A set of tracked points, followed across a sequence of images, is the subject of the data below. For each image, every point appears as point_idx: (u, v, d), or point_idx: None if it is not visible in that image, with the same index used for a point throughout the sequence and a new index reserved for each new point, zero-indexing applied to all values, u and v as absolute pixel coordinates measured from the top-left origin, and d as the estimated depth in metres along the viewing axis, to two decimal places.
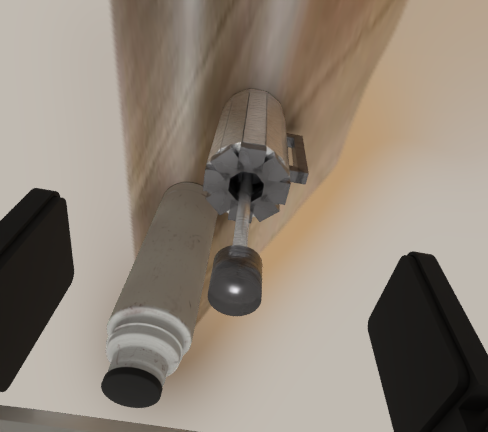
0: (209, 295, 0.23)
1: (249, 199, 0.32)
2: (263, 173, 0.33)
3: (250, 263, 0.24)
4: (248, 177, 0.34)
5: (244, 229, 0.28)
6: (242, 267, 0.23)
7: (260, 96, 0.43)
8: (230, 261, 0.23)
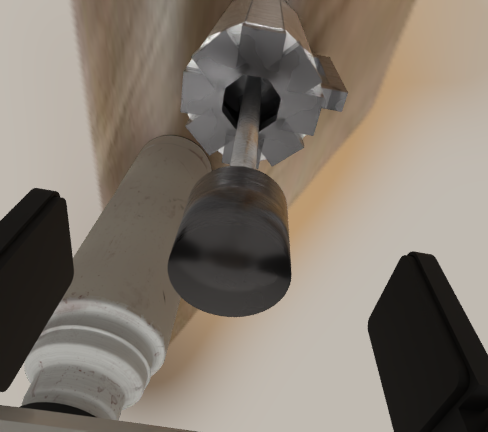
0: (171, 270, 0.10)
1: (257, 116, 0.19)
2: (280, 78, 0.20)
3: (265, 199, 0.11)
4: (254, 90, 0.21)
5: (249, 153, 0.15)
6: (247, 205, 0.10)
7: None
8: (220, 194, 0.10)
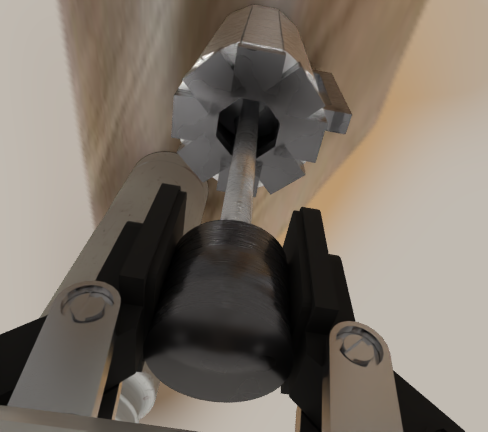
0: (148, 354, 0.08)
1: (254, 145, 0.17)
2: (279, 102, 0.18)
3: (261, 265, 0.09)
4: (251, 114, 0.20)
5: (245, 193, 0.13)
6: (240, 276, 0.08)
7: (269, 10, 0.28)
8: (207, 260, 0.09)
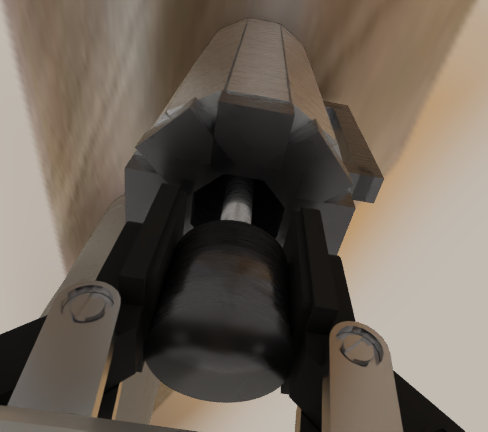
0: (148, 354, 0.08)
1: None
2: (283, 179, 0.12)
3: (261, 265, 0.09)
4: None
5: (245, 193, 0.13)
6: (240, 276, 0.08)
7: (268, 27, 0.22)
8: (207, 260, 0.09)
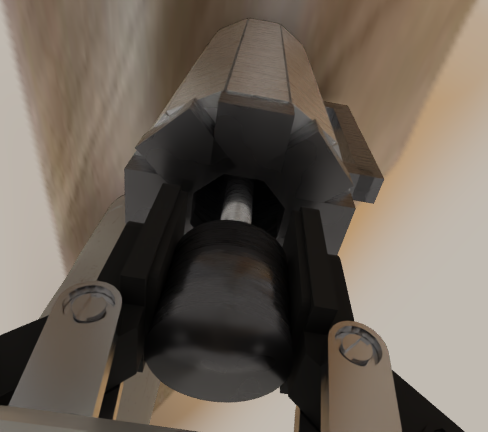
0: (148, 354, 0.08)
1: None
2: (283, 180, 0.12)
3: (261, 265, 0.09)
4: None
5: (245, 193, 0.13)
6: (240, 276, 0.08)
7: (268, 27, 0.22)
8: (207, 260, 0.09)
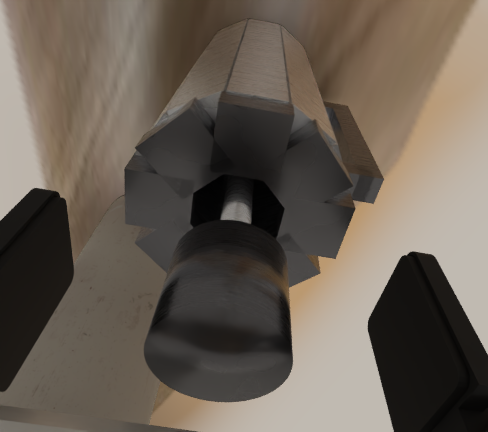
0: (148, 353, 0.08)
1: None
2: (283, 180, 0.12)
3: (261, 265, 0.09)
4: None
5: (245, 193, 0.13)
6: (240, 276, 0.08)
7: (268, 27, 0.22)
8: (207, 260, 0.09)
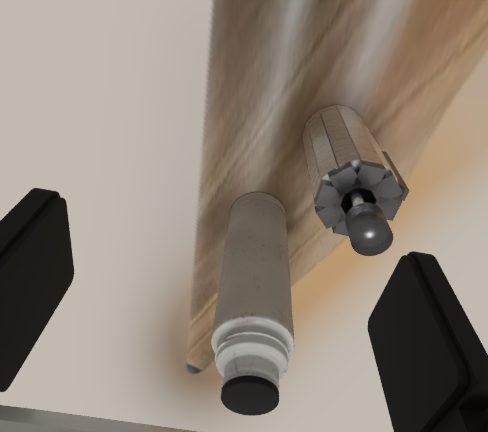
0: (353, 237, 0.30)
1: None
2: (378, 190, 0.34)
3: (382, 215, 0.31)
4: None
5: (360, 194, 0.35)
6: (378, 217, 0.30)
7: (349, 112, 0.44)
8: (367, 213, 0.31)
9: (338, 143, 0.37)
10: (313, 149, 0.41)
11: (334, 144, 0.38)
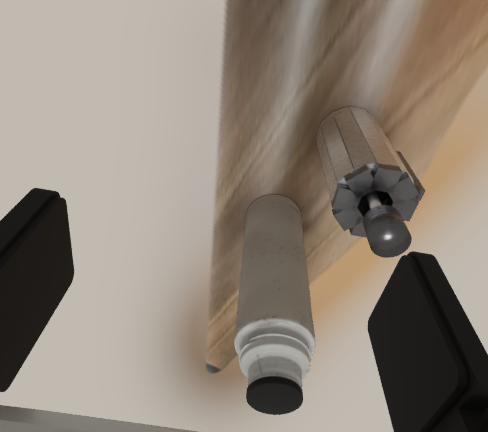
0: (371, 240, 0.31)
1: None
2: (394, 192, 0.35)
3: (399, 217, 0.32)
4: None
5: (376, 196, 0.36)
6: (396, 219, 0.31)
7: (362, 114, 0.45)
8: (385, 215, 0.31)
9: (353, 146, 0.38)
10: (328, 152, 0.41)
11: (349, 147, 0.38)
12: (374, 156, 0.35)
